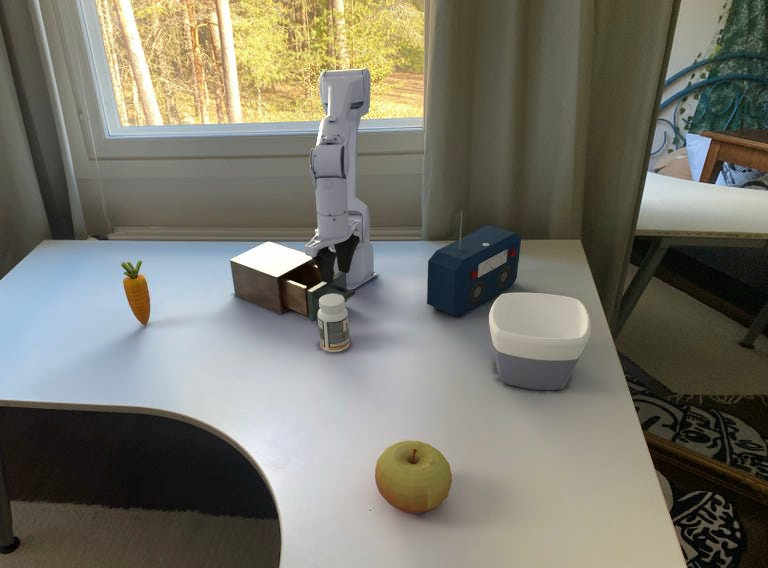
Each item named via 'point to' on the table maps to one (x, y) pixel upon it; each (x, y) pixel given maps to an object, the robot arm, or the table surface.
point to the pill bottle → (333, 323)
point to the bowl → (538, 338)
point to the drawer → (311, 290)
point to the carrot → (137, 292)
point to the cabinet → (265, 273)
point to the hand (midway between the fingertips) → (336, 276)
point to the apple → (413, 476)
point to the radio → (472, 269)
